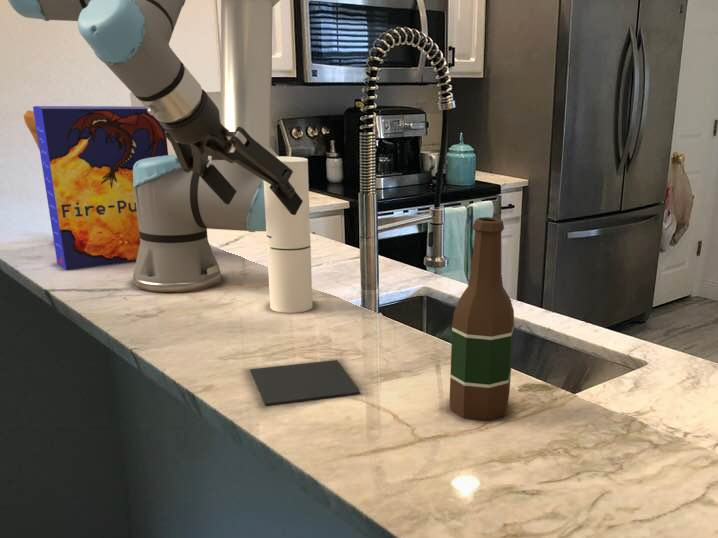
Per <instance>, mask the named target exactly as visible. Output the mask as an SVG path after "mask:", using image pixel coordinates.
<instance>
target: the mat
mask: <svg viewBox="0 0 718 538" xmlns="http://www.w3.org/2000/svg"><path fill="white" fill-rule="evenodd" d="M250 373H251V376H252V378H253V381H254V383H255V385H256V388H257V390H258V393H259V394H260V396H261V399H262V401H263V404H264V406H273V405H280V404H289V403H291V404H292V403H297V402H298V403H299V402H305V401H313V400H314V401H315V400H323V399H330V398H337V397H346V396H354V395H360V390H359V389H358V388H357V386H356V385H355V383H354V382H353V381H352V379H351V378H350V376H349V375H348V373H347V372H346V370H345V369H344V368H343V367H342V365H341V364H340V362H339V361H338V360H337V359H334V360H325V361H315V362H314V361H313V362H307V363H296V364H287V365H278V366H269V367H268V366H266V367H259V368H251V369H250Z"/></svg>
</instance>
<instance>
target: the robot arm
mask: <svg viewBox="0 0 718 538" xmlns="http://www.w3.org/2000/svg"><path fill="white" fill-rule="evenodd" d="M7 1H8V3H9V5H10V6H11V8H12V9H13V10H14V11H15V12H16V13H17V14H19V16H21V17H24V18H27V19H34V20H35V19H36V20H43V21H45V22H50V21H65V22H67V21H68V22H77V29H78V32H79V35H81V37H82V38H83V39H84V41H85V42H86V43H87V44H88V46H89V47H90V48H91V50H93V52H94V54H95V56H96V58H98V59H99V60H100V61H101V62H102V63H103V64H105V66H106V67H107V68H108V69H109V70H111V72H112V73H113V74H114V75H115V76H116V77H117V78H118V79H119V80H120V82H121V83H122V84H123V85H124V86H125V87H127V89H128V90H129V91H130V92H131V93H132V94H133V96H134V97H136V98H137V100H138V101H139V102H140V103H141V104H142V105H143V107H146V108H147V110H148V113H149V114H150V115H153V116H154V117H155V118H156V119H157V120H158V121H159V122H160V124H161V126H162V127H163V128H164V129H165V130H166V131H165V133H164V135H165V136H166V137H167V141H169V142H170V145H171V146H172V149H173V151H174V154H168V155H166V156H158V157H151V158H146V159H141V160H139V161H137V162H136V163H135V164H134V166H133V188H134V193H135V201H136V209H137V218H138V226H139V234H140V247H139V251H138V255H137V259H136V262H135V265H134V269H133V276H132V277H133V284H134V286H135V287H137V288H139V289H141V290H144V291H151V292H159V293H180V292H181V293H182V292H183V293H184V292H193V291H198V290H205V289H208V288H211V287H214V286H216V285H217V284H219V283H220V282H222V275H221V274H222V273H221V269H220V265H219V264H218V261H217V258H216V256H215V254H214V251H213V249H212V247H211V244H210V242H209V237H208V230H223V231H240V232H248V233H255V232H266V217H265V198H264V181H266V182H268V183H269V184H271V186H270V189H271V190H272V191H273V193H274V194H275V195H276V196H277V197H278V199H279V200H280V201H281V202H282V204H283V205H284V206H285V207H286V208H287V210H288V211H289V212H290V213H291V215H296V213H297V211H298V209H299V207H300V206H301V204H302V202H303V201H302V199H301V198H300V197H299V195H298V194H297V193H296V192H295V189H294V188H293V187H292V185H291V184H290V183H289V181H288V180H289V178H290V177H291V175H292V173H293V171H292V170H291V169H290V168H289V167H288V166H286V165H285V164H284V163H283V162H281V161H280V160H279V159H278V158H276V156H279V155H278V154H277V153H276V152H275V151H274V150H273V149H272V145H271V144H272V143H271V142H272V81H273V80H272V79H273V78H272V77H273V76H272V73H273V71H272V70H273V12H274V11H273V9H274V7H275V6H276V5H277V4H278V3H279V2H280V1H281V0H220V109H219V107H218V106H217V104H216V103H215V102H214V100H212V98H211V97H210V96H209V94H208V93H207V92H206V91H205V90H204V88H203V87H202V85H201V84H200V83H199V81H198V80H197V79H196V78H195V76H194V75H193V74H192V73H191V72H190V70H189V69H188V67H186V65H185V64H184V63H183V62H182V61H181V59H180V58H179V57H178V55H177V54H176V53H175V52H174V50H173V49H172V48H171V46H170V42H171V39H172V37H173V33H174V30H175V27H176V24H177V22H178V19H179V17H180V14H181V12H182V10H183V7H184V6H185V4H186V1H187V0H7ZM209 157H211V159H209ZM210 161H211V162H210Z"/></svg>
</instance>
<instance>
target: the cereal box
mask: <svg viewBox="0 0 718 538" xmlns="http://www.w3.org/2000/svg"><path fill="white" fill-rule="evenodd" d="M32 111H34V117H35V124H36V130H37V136H38V143H39V148H38V150H39V149H40V150H39V155H40V162H41V169H42V176H43V181H44V186H45V195H46V200H47V206H48V212H49V220H50V226H52V227H51V231H52V237H53V244H54V249H55V250H54V252H55V258H56V264H57V265H59V266H60V267H61V268H63V269H65V271H69V270H70V271H71V270H78V269H87V268H94V267H103V266H112V265H119V264H127V263H136V259H137V255H138V251H139V247H140V234H139V226H138V218H137V209H136V201H135V193H134V188H133V166H134V164H135V163H136V162H137V161H139V160H141V159H146V158H151V157H158V156H166V155H169V149H168V139H167V137H166V136H165V135H164V133H165V131H166V130H165V129H164V128H163V127H162V126H161V124H160V122H159V121H158V120H157V119H156V118H155V117H154V116H153V115H150V114H149V113H148V110H147V108H146V107H145V106H130V105H129V106H127V105H126V106H123V105H122V106H120V105H119V106H118V105H117V106H114V105H113V106H111V105H108V106H107V105H106V106H105V105H104V106H103V105H102V106H101V105H99V106H98V105H85V106H84V105H50V106H49V105H35V106H32Z"/></svg>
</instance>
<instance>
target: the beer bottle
mask: <svg viewBox="0 0 718 538" xmlns="http://www.w3.org/2000/svg"><path fill="white" fill-rule="evenodd" d="M472 229H473V230H474V237H473V238H474V239H473V246H472V256H471V267H470V274H469V280H468V283H467V287H466V288H465V290H464V291H463V293H461V296H460V297H459V299H458V301H457V304H456V306H455V308H454V311H453V315H452V325H451V348H450V374H449V375H450V377H449V409H450V410H451V412H454V413H455V414H457V415H458V416H459V417H461V418H463V419H467V420H475V421H476V420H477V421H486V422H487V421H490V420H493V419H494V420H495V419H497V418H501V417H504V416H505V415H506V413H507V409H508V406H509V399H510V392H511V391H510V390H511V389H510V388H511V379H512V378H511V377H512V376H511V375H512V359H513V349H514V348H513V346H514V331H515V310H514V306H513V303H512V299H511V297H510V296H509V293H508V292H507V291H506V289H505V288H504V284H503V277H502V276H503V275H502V232H503V231H504V229H505V225H504V221H503V220H502V219H500V218H498V217H492V216H491V217H489V216H483V217H482V216H481V217H477V218H476V219H475V220H474V222H473V224H472Z"/></svg>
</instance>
